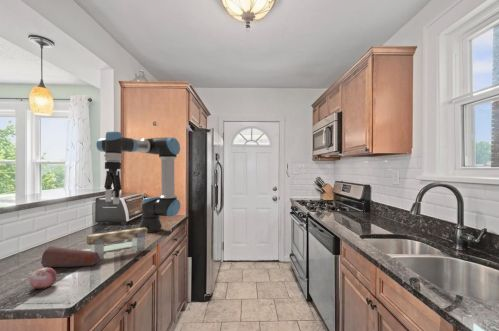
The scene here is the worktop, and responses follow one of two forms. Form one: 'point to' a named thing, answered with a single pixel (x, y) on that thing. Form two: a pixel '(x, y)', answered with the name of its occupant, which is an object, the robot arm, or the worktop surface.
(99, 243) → the post
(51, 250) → the food
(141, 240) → the post
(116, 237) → the rail
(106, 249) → the mat
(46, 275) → the onion
